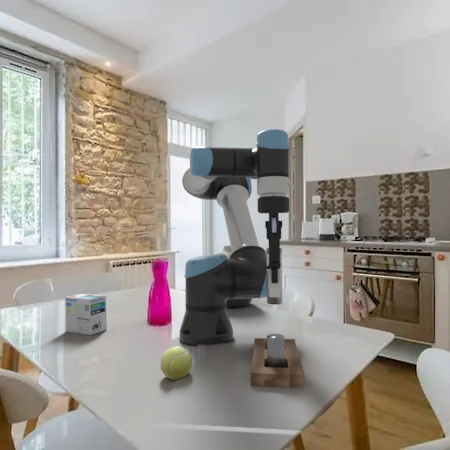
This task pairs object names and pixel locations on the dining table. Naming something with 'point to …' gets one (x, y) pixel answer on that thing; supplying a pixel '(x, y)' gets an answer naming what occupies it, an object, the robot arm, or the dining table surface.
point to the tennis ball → (176, 363)
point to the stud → (269, 299)
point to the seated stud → (275, 351)
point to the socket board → (276, 376)
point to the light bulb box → (85, 314)
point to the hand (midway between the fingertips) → (274, 294)
